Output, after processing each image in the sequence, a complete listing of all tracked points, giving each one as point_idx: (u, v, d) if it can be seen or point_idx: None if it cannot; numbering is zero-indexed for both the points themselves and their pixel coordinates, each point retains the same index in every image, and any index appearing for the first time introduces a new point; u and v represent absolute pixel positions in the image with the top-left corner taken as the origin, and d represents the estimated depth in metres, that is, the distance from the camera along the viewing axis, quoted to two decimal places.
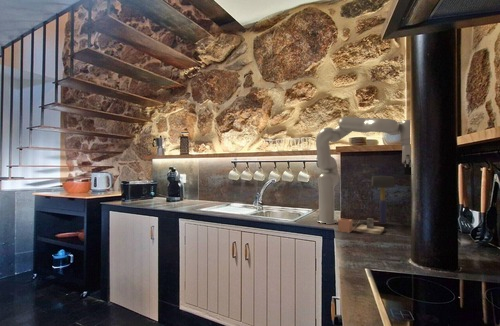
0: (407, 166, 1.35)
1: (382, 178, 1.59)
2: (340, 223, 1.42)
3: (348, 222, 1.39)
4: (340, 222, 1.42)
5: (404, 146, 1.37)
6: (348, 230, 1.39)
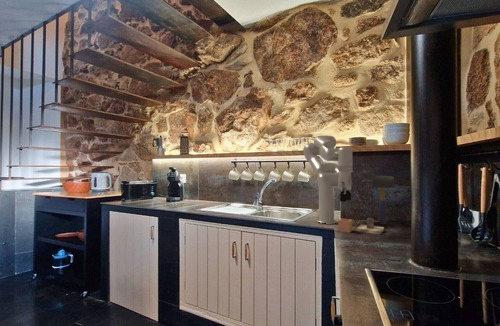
0: (342, 193, 1.38)
1: (382, 178, 1.59)
2: (340, 223, 1.42)
3: (348, 222, 1.39)
4: (340, 222, 1.42)
5: (340, 173, 1.41)
6: (348, 230, 1.39)
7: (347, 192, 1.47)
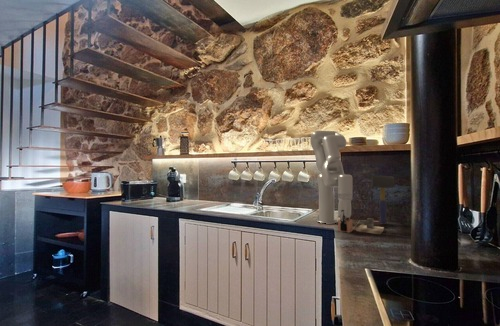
0: (342, 223, 1.39)
1: (382, 178, 1.59)
2: None
3: (348, 222, 1.39)
4: None
5: (340, 201, 1.41)
6: (348, 230, 1.39)
7: None
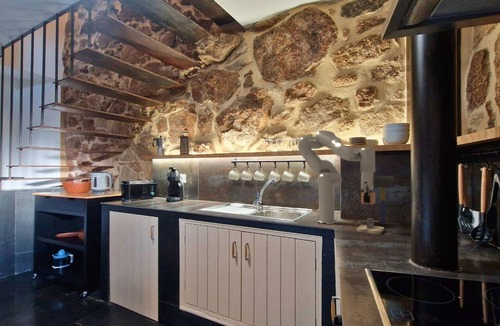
0: (366, 195, 1.40)
1: (382, 178, 1.59)
2: (363, 195, 1.43)
3: (371, 194, 1.40)
4: (363, 194, 1.43)
5: (362, 173, 1.42)
6: (372, 202, 1.40)
7: None
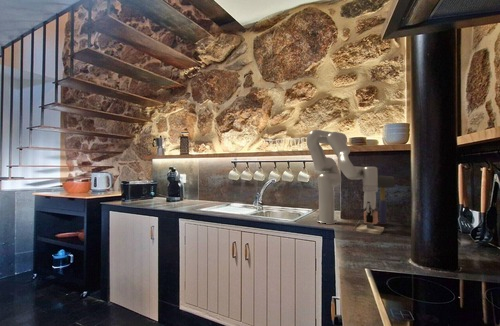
0: (368, 215, 1.40)
1: (382, 178, 1.59)
2: None
3: (374, 214, 1.40)
4: None
5: (365, 193, 1.41)
6: (374, 221, 1.40)
7: None
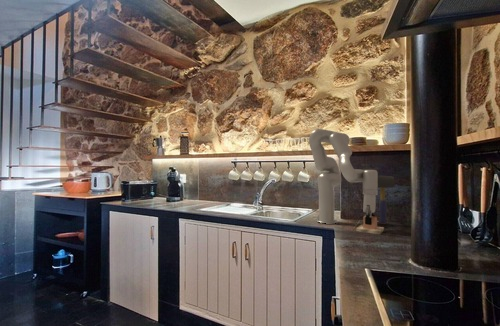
0: (367, 216, 1.39)
1: (382, 178, 1.59)
2: None
3: (374, 219, 1.40)
4: None
5: (365, 196, 1.42)
6: (374, 227, 1.40)
7: (371, 214, 1.48)
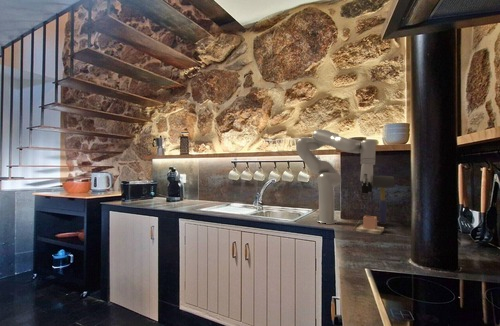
0: (364, 185, 1.41)
1: (382, 178, 1.59)
2: (365, 220, 1.43)
3: (374, 219, 1.40)
4: (365, 219, 1.43)
5: (362, 165, 1.43)
6: (374, 227, 1.40)
7: (368, 184, 1.50)
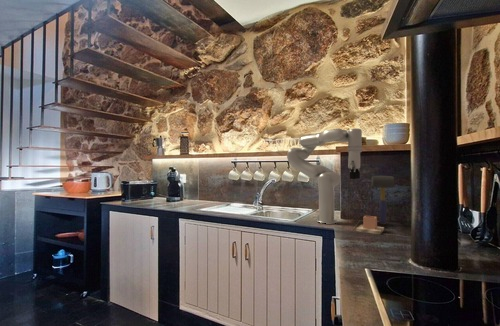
0: (351, 171, 1.48)
1: (382, 178, 1.59)
2: (365, 220, 1.43)
3: (374, 219, 1.40)
4: (365, 219, 1.43)
5: (350, 153, 1.50)
6: (374, 227, 1.40)
7: (356, 171, 1.57)
